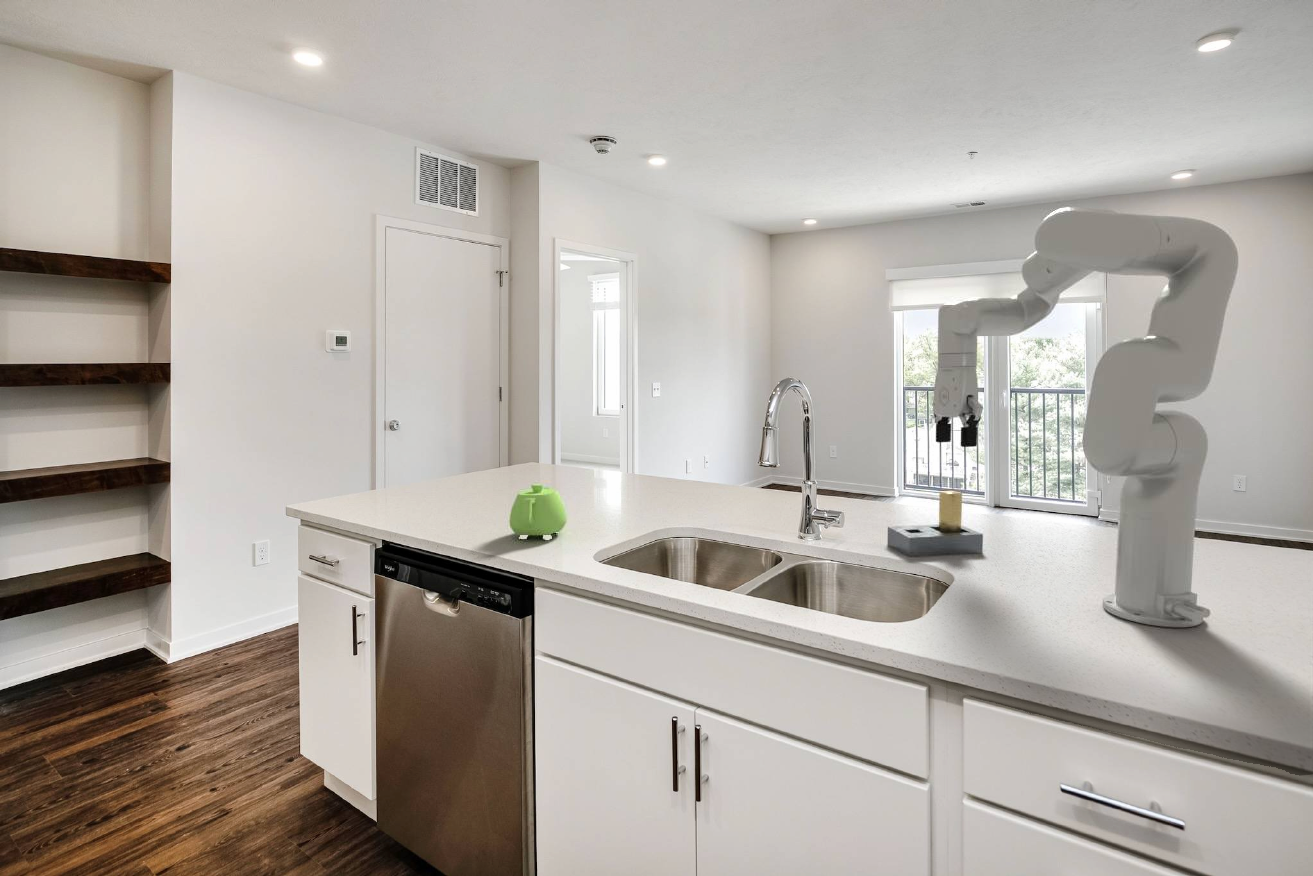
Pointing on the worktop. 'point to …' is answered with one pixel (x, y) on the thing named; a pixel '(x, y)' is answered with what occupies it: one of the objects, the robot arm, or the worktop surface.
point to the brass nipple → (950, 512)
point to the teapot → (538, 512)
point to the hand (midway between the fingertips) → (955, 444)
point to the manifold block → (933, 541)
